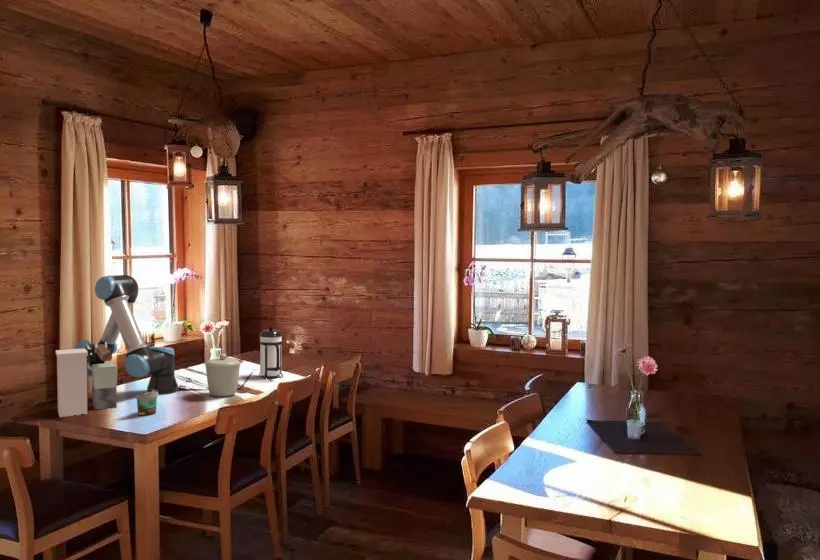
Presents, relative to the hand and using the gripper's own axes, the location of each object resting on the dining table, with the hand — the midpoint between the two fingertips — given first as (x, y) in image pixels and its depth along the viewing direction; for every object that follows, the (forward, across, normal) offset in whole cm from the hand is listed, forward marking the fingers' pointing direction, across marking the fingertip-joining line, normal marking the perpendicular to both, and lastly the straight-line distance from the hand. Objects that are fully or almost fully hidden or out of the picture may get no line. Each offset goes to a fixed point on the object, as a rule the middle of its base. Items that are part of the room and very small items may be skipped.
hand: (101, 344), depth 317 cm
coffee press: (-31, -92, -14) cm, 98 cm away
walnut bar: (+2, 0, -7) cm, 7 cm away
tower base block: (-6, 0, -28) cm, 29 cm away
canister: (-5, -55, -29) cm, 63 cm away
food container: (+14, -16, -40) cm, 46 cm away
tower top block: (-2, 0, -20) cm, 20 cm away
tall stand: (-1, +14, -32) cm, 34 cm away
